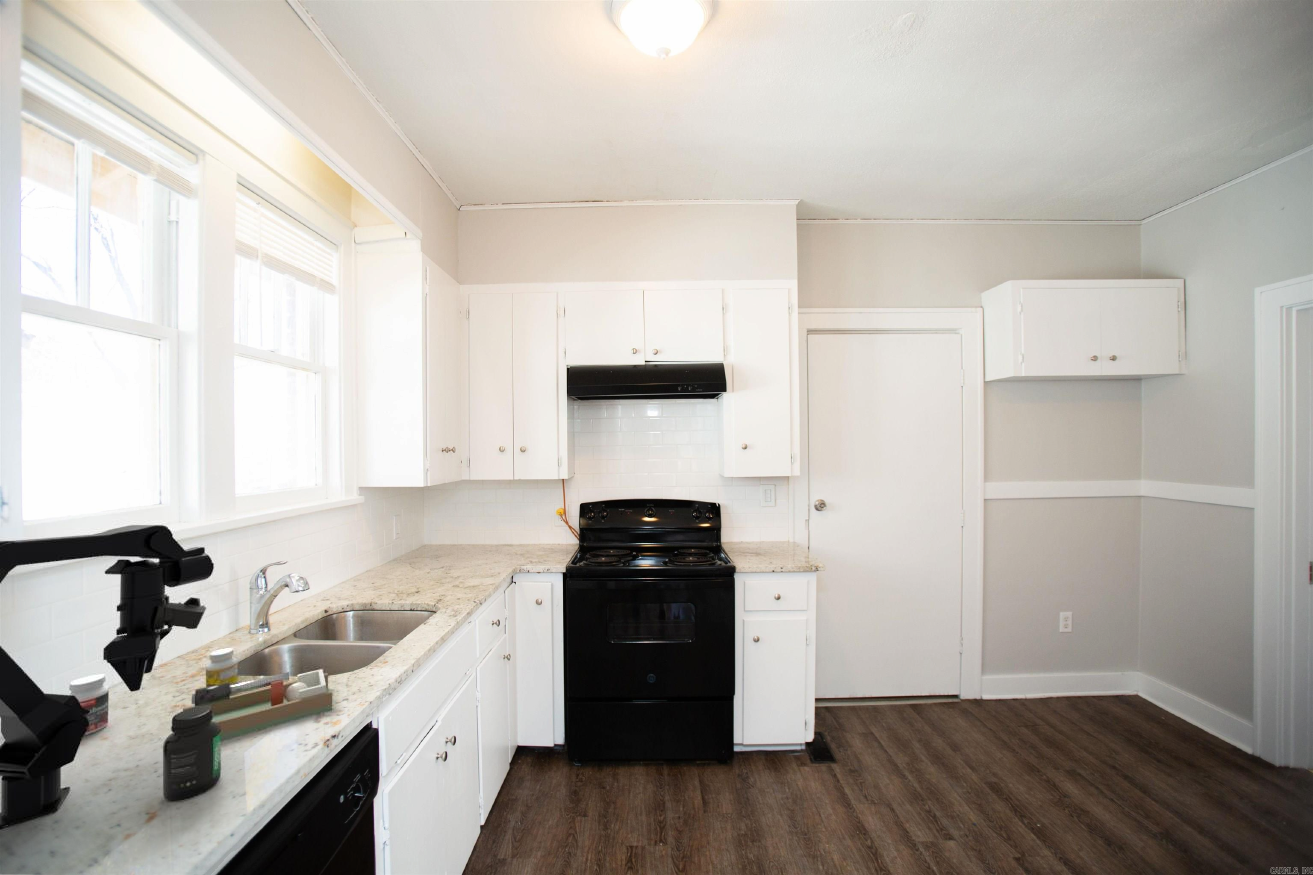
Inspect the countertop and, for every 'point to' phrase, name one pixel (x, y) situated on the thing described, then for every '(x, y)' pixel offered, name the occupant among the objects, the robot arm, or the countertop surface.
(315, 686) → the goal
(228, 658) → the supplement bottle
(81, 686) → the pill bottle
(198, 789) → the supplement bottle
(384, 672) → the countertop surface
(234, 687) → the rod
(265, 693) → the tray
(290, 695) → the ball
